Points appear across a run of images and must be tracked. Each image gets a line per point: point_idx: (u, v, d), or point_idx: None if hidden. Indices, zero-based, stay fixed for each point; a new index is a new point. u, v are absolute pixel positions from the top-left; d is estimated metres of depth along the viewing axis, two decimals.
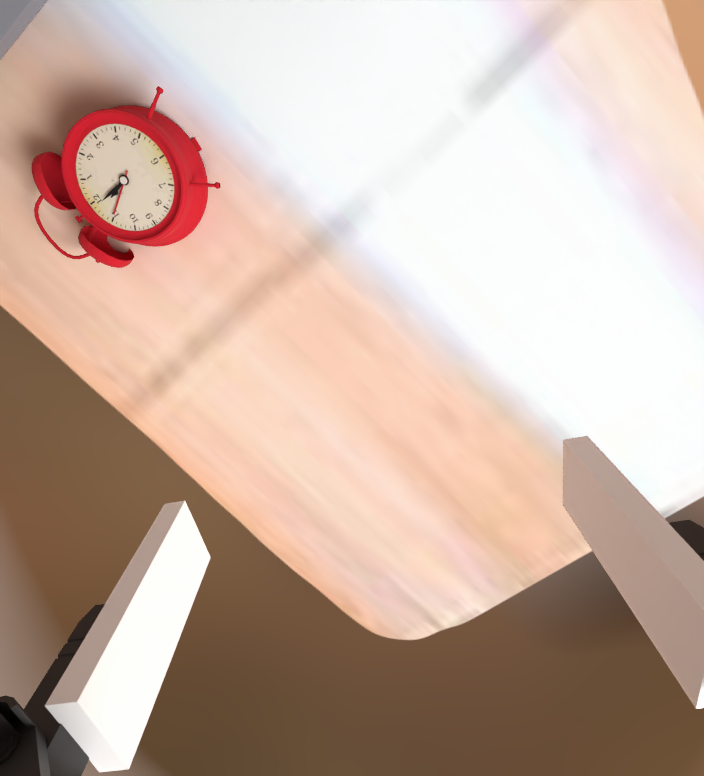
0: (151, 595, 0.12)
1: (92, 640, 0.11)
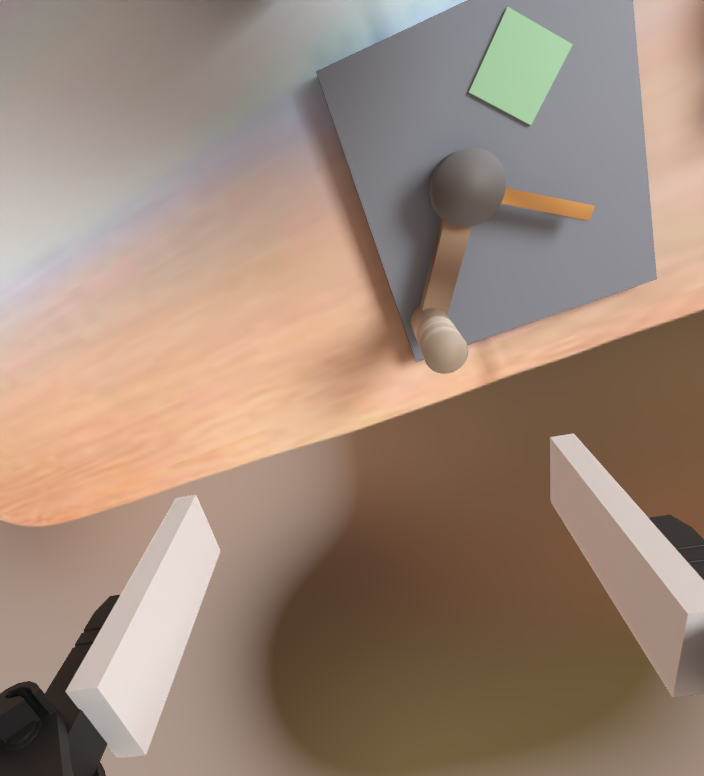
0: (165, 586, 0.13)
1: (109, 629, 0.11)
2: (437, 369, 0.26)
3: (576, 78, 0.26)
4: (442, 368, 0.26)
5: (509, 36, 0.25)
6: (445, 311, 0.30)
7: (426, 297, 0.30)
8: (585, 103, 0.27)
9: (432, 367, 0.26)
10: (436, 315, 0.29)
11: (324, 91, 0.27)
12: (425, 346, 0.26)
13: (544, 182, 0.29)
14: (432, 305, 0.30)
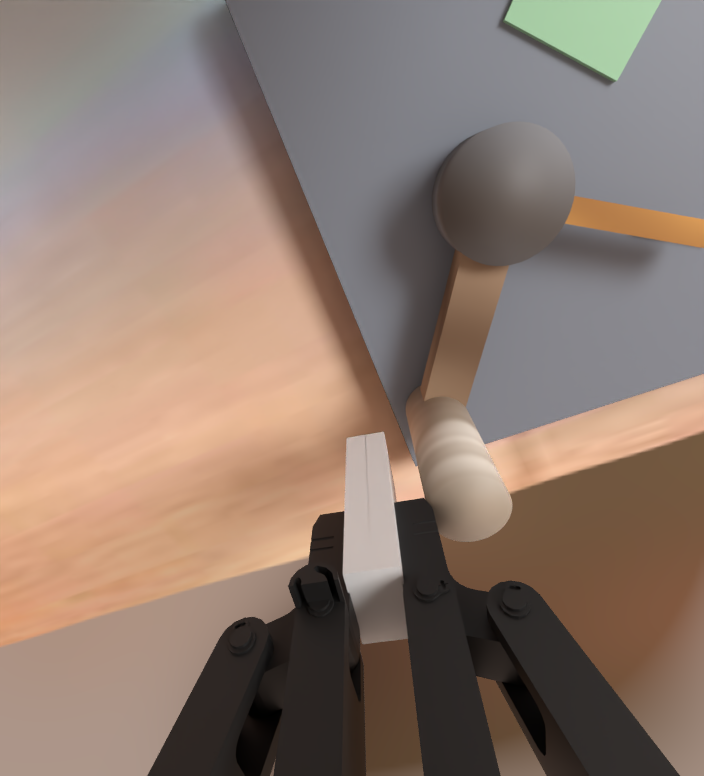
0: None
1: (352, 531, 0.12)
2: (454, 535, 0.14)
3: None
4: (463, 533, 0.14)
5: None
6: (462, 401, 0.18)
7: (430, 380, 0.18)
8: None
9: (444, 532, 0.14)
10: (448, 418, 0.16)
11: (237, 25, 0.14)
12: (431, 498, 0.14)
13: (634, 184, 0.16)
14: (440, 393, 0.18)
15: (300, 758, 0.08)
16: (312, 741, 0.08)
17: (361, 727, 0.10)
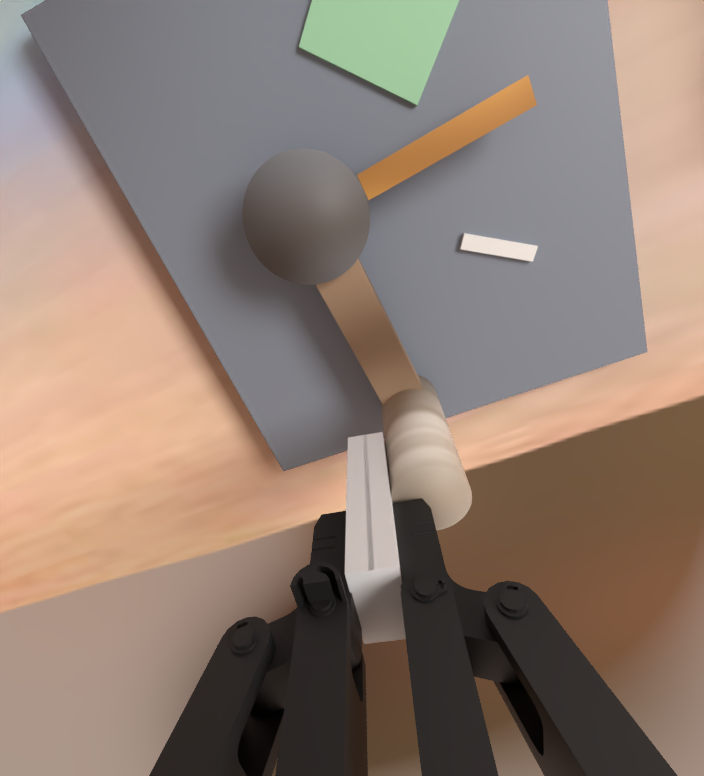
0: None
1: (354, 531, 0.12)
2: (437, 526, 0.14)
3: (492, 16, 0.14)
4: (444, 520, 0.14)
5: None
6: (415, 386, 0.18)
7: (375, 387, 0.18)
8: (512, 62, 0.15)
9: None
10: (397, 417, 0.17)
11: (44, 52, 0.15)
12: None
13: (451, 203, 0.17)
14: (391, 392, 0.18)
15: (302, 758, 0.08)
16: (314, 741, 0.08)
17: (363, 727, 0.10)
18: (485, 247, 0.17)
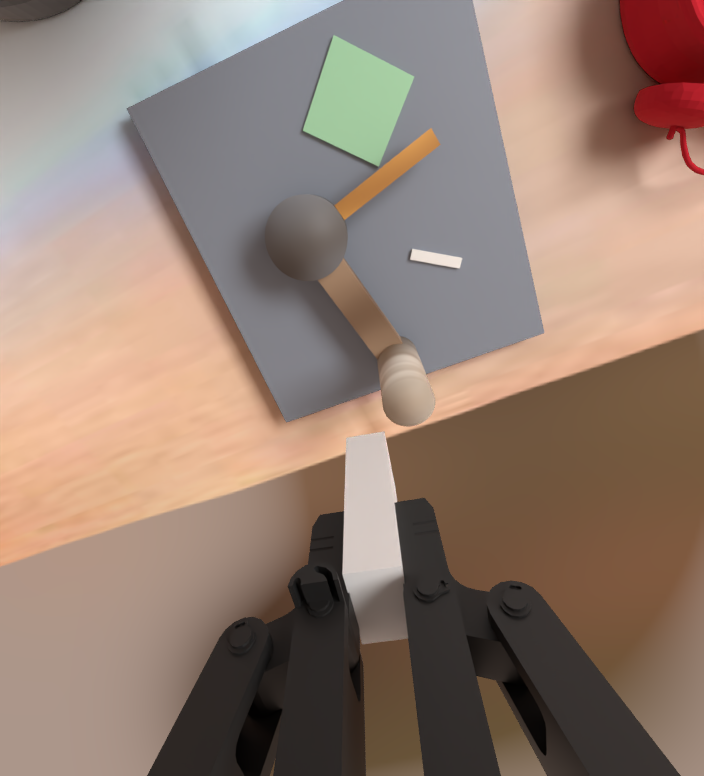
0: None
1: (352, 531, 0.12)
2: (416, 421, 0.22)
3: (424, 114, 0.23)
4: (420, 417, 0.22)
5: (341, 68, 0.22)
6: (397, 342, 0.26)
7: (369, 347, 0.26)
8: None
9: (410, 423, 0.22)
10: (385, 361, 0.25)
11: (139, 130, 0.23)
12: None
13: (403, 228, 0.25)
14: (381, 348, 0.26)
15: (300, 758, 0.08)
16: (312, 741, 0.08)
17: (361, 727, 0.10)
18: (426, 258, 0.26)
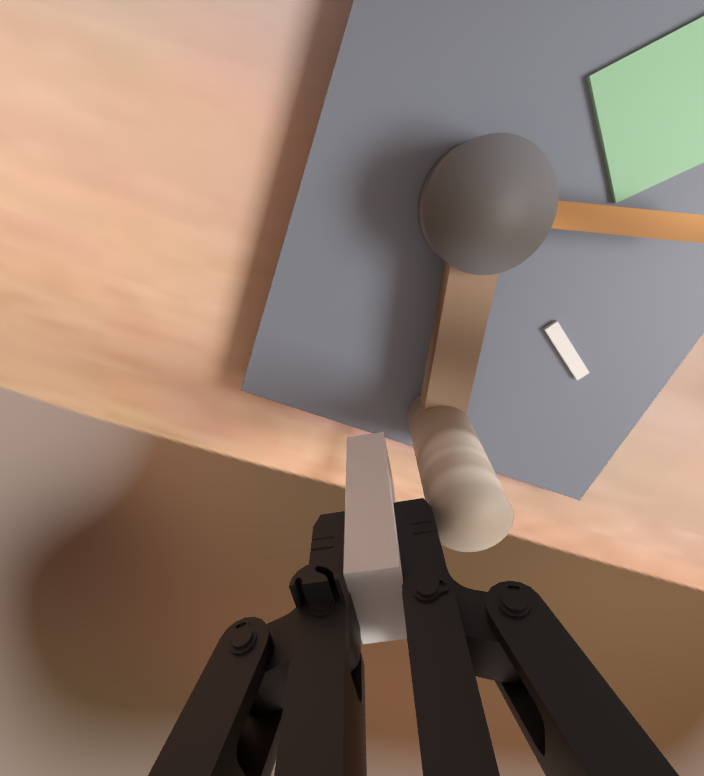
0: None
1: (353, 531, 0.12)
2: (458, 546, 0.14)
3: None
4: (467, 544, 0.14)
5: (692, 53, 0.15)
6: (462, 409, 0.18)
7: (429, 390, 0.18)
8: None
9: (448, 544, 0.14)
10: (448, 428, 0.17)
11: None
12: None
13: (568, 292, 0.18)
14: (440, 402, 0.18)
15: (301, 758, 0.08)
16: (313, 741, 0.08)
17: (362, 727, 0.10)
18: (560, 343, 0.19)
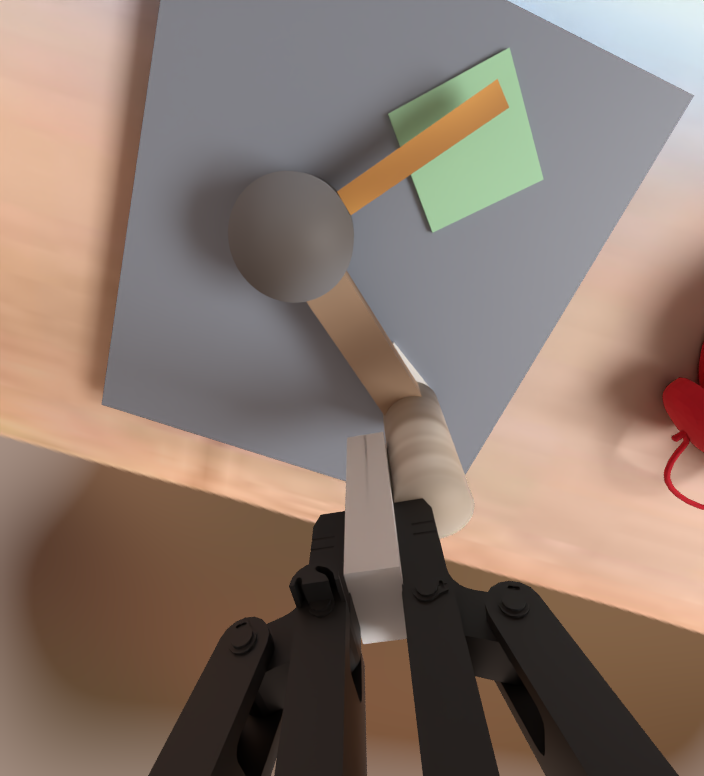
0: None
1: (353, 531, 0.12)
2: (442, 533, 0.14)
3: (518, 225, 0.17)
4: (448, 527, 0.14)
5: None
6: (414, 393, 0.18)
7: (374, 398, 0.18)
8: (507, 264, 0.18)
9: None
10: (396, 426, 0.17)
11: None
12: None
13: (402, 315, 0.19)
14: (391, 400, 0.18)
15: (301, 758, 0.08)
16: (313, 741, 0.08)
17: (362, 727, 0.10)
18: None
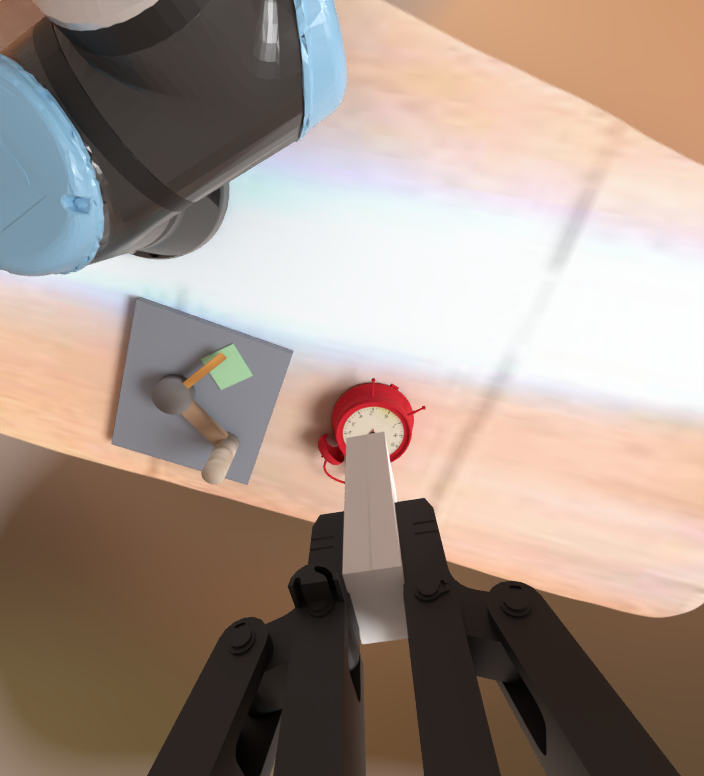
0: None
1: (352, 531, 0.12)
2: (218, 482, 0.49)
3: (249, 387, 0.53)
4: (219, 480, 0.49)
5: (229, 353, 0.51)
6: (223, 438, 0.53)
7: (210, 441, 0.54)
8: (248, 398, 0.53)
9: (216, 483, 0.50)
10: None
11: (135, 309, 0.49)
12: None
13: (216, 414, 0.54)
14: (216, 441, 0.54)
15: (300, 758, 0.08)
16: (312, 741, 0.08)
17: (361, 727, 0.10)
18: None
